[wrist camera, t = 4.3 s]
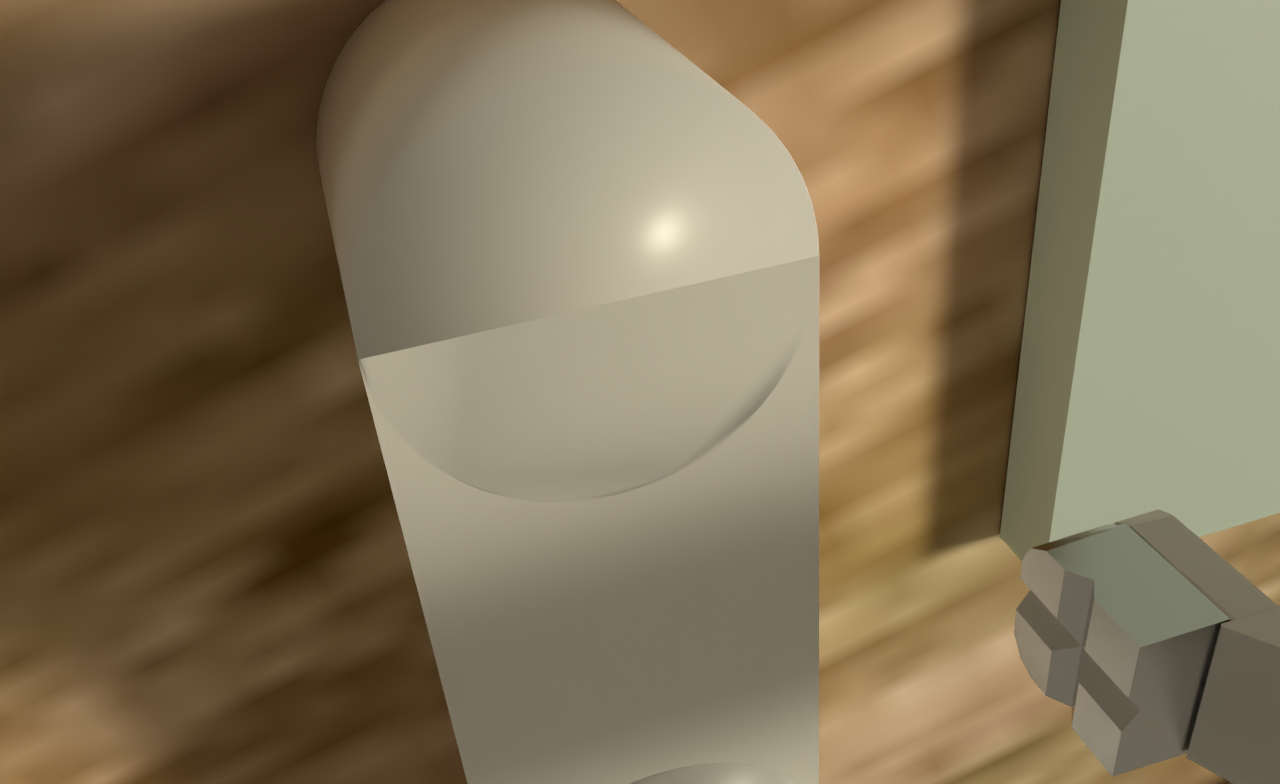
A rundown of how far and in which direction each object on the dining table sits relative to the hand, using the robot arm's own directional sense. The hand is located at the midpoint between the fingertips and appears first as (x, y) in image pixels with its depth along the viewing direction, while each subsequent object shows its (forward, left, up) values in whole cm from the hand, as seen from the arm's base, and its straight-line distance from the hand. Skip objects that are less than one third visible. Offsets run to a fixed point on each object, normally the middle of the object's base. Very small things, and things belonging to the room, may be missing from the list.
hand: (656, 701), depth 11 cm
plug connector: (+1, 0, -5) cm, 5 cm away
